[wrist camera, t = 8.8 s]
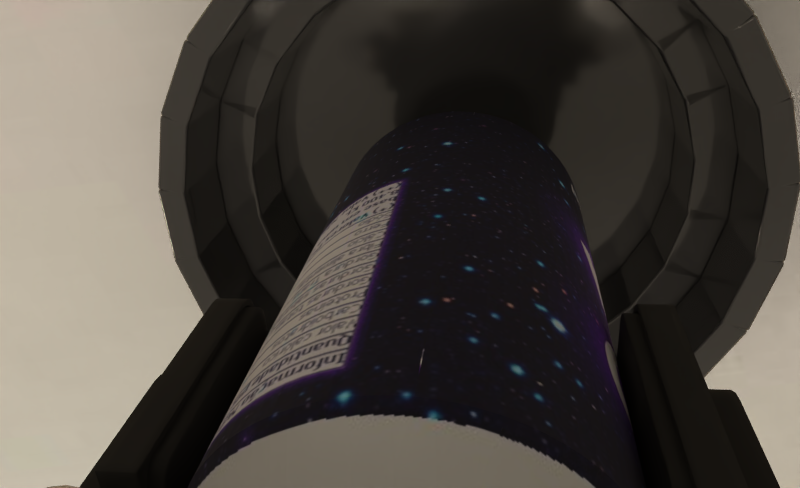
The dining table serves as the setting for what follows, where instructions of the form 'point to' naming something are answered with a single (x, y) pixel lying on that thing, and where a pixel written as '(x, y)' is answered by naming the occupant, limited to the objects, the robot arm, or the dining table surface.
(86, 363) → the dining table surface
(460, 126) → the beverage can
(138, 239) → the dining table surface
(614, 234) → the bowl
